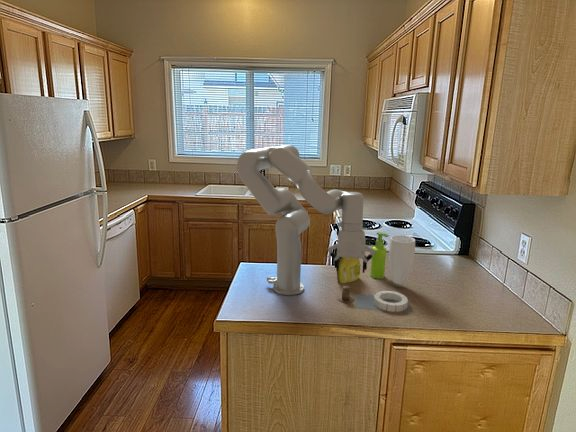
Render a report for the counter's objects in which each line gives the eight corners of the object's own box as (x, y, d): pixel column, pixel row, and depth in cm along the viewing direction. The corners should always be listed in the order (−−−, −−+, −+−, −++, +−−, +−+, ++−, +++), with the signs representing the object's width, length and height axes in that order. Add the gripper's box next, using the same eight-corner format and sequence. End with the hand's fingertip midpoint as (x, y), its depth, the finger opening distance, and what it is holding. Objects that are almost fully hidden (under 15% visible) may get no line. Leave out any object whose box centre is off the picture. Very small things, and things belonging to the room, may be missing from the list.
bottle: (341, 287, 165) (344, 241, 160) (331, 282, 170) (333, 237, 165) (362, 281, 171) (365, 236, 166) (352, 276, 176) (355, 232, 171)
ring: (374, 309, 145) (374, 303, 144) (373, 295, 156) (374, 289, 155) (408, 313, 142) (409, 306, 142) (405, 298, 154) (406, 292, 153)
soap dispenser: (380, 280, 172) (383, 236, 167) (367, 275, 178) (370, 232, 172) (388, 277, 176) (392, 233, 171) (376, 272, 181) (379, 230, 176)
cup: (393, 295, 159) (398, 243, 153) (380, 284, 168) (384, 235, 163) (416, 292, 161) (421, 241, 156) (402, 282, 171) (407, 234, 166)
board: (354, 310, 146) (354, 307, 146) (355, 295, 158) (355, 293, 157) (411, 316, 142) (411, 313, 142) (408, 301, 154) (408, 298, 154)
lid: (336, 304, 150) (337, 290, 149) (337, 297, 156) (338, 283, 155) (353, 306, 149) (354, 291, 147) (354, 299, 155) (355, 284, 154)
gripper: (327, 227, 143) (326, 272, 147) (376, 230, 140) (374, 276, 144) (329, 222, 150) (328, 265, 154) (376, 224, 147) (374, 268, 151)
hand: (350, 270), depth 149 cm, fingers open, 9 cm apart
